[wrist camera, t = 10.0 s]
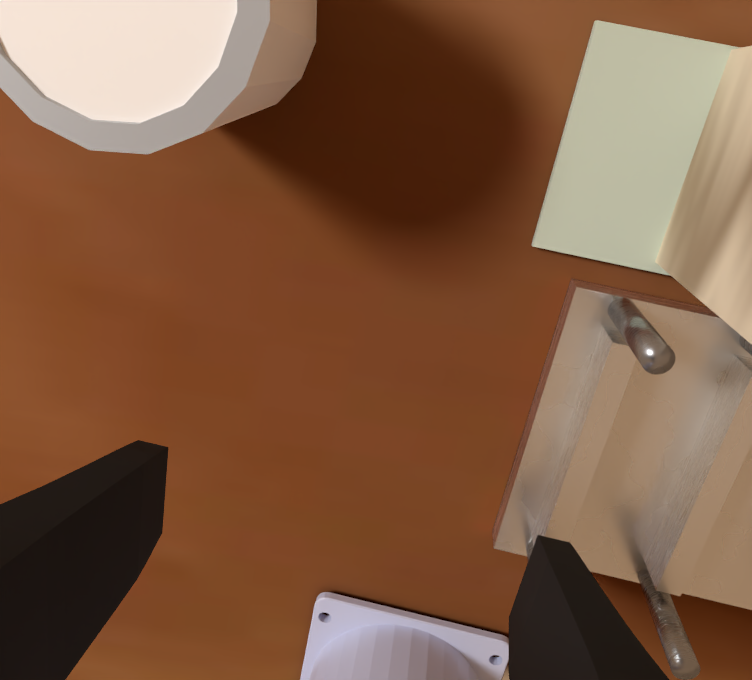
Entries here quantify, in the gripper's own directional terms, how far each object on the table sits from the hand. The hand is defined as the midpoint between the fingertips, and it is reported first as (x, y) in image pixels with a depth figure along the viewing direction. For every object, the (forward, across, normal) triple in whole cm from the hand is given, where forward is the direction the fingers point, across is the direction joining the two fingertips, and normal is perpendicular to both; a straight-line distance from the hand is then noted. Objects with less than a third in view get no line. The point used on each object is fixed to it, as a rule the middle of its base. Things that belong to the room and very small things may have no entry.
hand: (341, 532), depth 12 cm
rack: (+10, -13, +2) cm, 17 cm away
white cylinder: (+11, +7, -9) cm, 16 cm away
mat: (+10, -8, -7) cm, 15 cm away
